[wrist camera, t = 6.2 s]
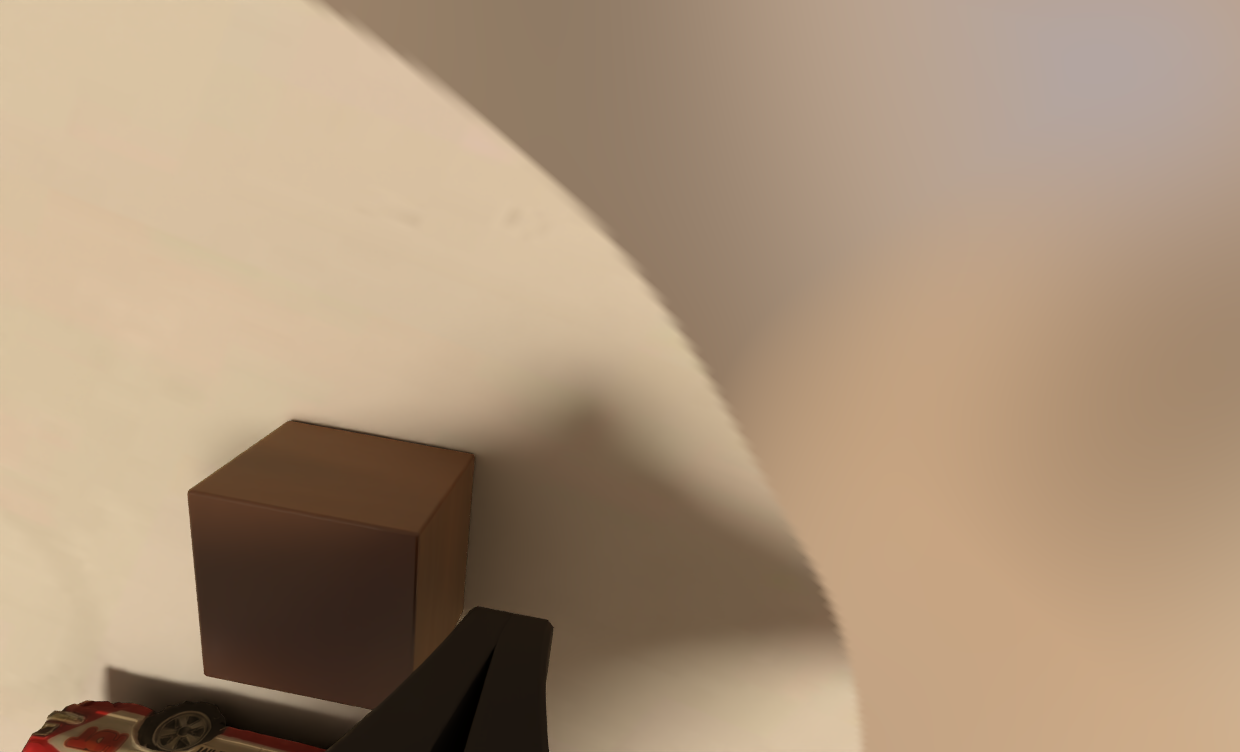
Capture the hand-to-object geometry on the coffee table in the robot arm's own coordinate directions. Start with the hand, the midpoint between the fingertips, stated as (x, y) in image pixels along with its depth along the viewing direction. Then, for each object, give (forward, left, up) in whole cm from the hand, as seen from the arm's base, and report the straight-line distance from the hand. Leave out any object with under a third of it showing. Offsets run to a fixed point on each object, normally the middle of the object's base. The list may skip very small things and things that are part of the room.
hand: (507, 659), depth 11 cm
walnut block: (0, +4, -3) cm, 5 cm away
